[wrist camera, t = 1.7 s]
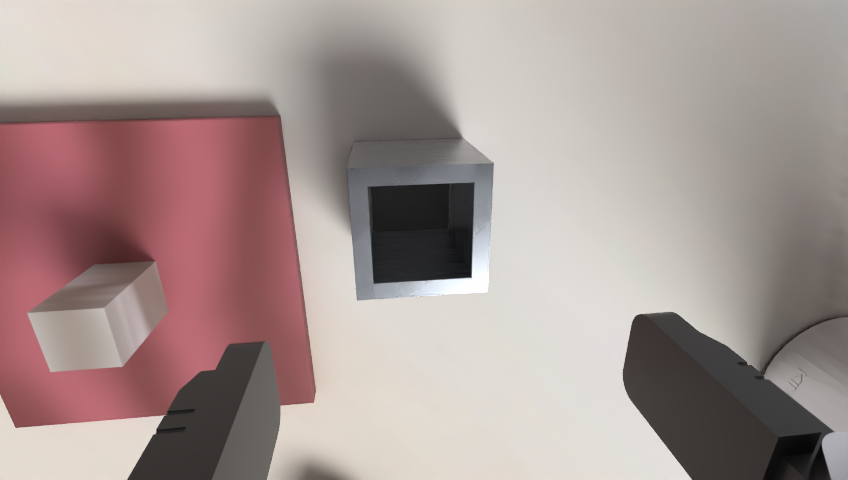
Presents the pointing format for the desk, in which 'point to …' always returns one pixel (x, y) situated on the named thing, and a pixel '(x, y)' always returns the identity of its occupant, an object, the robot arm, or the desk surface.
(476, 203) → the square socket
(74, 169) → the post base
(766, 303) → the desk surface
